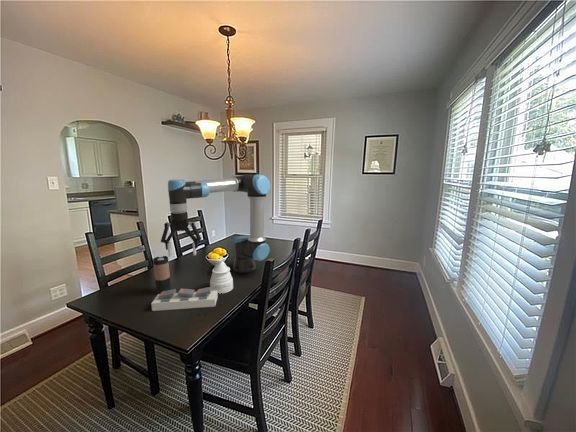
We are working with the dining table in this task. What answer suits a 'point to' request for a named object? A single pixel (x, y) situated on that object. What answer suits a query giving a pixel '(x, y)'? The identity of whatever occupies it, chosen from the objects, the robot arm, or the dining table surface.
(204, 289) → the rocker
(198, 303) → the power strip
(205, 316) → the dining table surface
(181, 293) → the rocker mid
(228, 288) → the honey pot
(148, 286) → the dining table surface
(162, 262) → the travel mug
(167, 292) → the rocker
